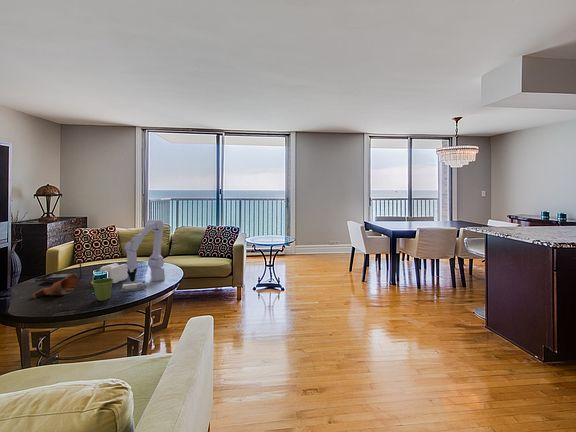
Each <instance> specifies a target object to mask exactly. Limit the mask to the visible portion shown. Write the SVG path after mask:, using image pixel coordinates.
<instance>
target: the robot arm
mask: <svg viewBox="0 0 576 432" xmlns="http://www.w3.org/2000/svg"><path fill="white" fill-rule="evenodd" d="M151 231H152V232H154V233H153V234H154V238H153V246H152V247H153V248H152V254H151V255H150V256H149V258H148V261H147V266H148V267H149V269H150V282H151V283H152V282H161V281H165V280H166V279H165V278H166V275H165V266H164V263H165V261H164V257H163V256H162V253H161V252H162V251H161V250H162V244H163V235H164V222H163V220H161V219H148V220H147V221H146V222H145V226H144V227H142V229H141V231H140V232H139V233H136V234H134V237H132V238H131V240H130V241H128V242H126V243H125V244H124V251H125V253H126V264H127V267H125V268H127V269H128V271H127V273H128V278H129V280H130V281H129V282H135V280H136V274H137V272H138V271H137V270H138V262H137V261H138V260H137V259H138V258H137V256H138V254H137V251H138V250H139V246H140V244H142V241H144V240H145V236H146V235H147V234H148V233H149V232H151Z"/></svg>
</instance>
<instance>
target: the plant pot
mask: <svg viewBox="0 0 576 432" xmlns="http://www.w3.org/2000/svg"><path fill="white" fill-rule="evenodd" d="M113 280H114V279H112V278H103V279H100V278H99V279H95V280H91V284H92V287H93V290H94V294H95V297H96V300H97V301H100V302H101V301H106V300H109V299H111V296H112V288H113V287H112V286H113V284H114V283H113Z"/></svg>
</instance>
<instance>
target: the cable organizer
mask: <svg viewBox="0 0 576 432" xmlns="http://www.w3.org/2000/svg"><path fill="white" fill-rule="evenodd" d="M125 267H127V263H123V264H119V263H118V262H117V263H111V264H108V265H104V266H101V267H100V268H99V273H100V272H102V271H107V272H108V278H112V279H114V280H113V283H112V284H116V283H119V282H123V281H125V280H126V279H128V278H129V275H128V273H127V271H129V270H128V269H127V268H125Z"/></svg>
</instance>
